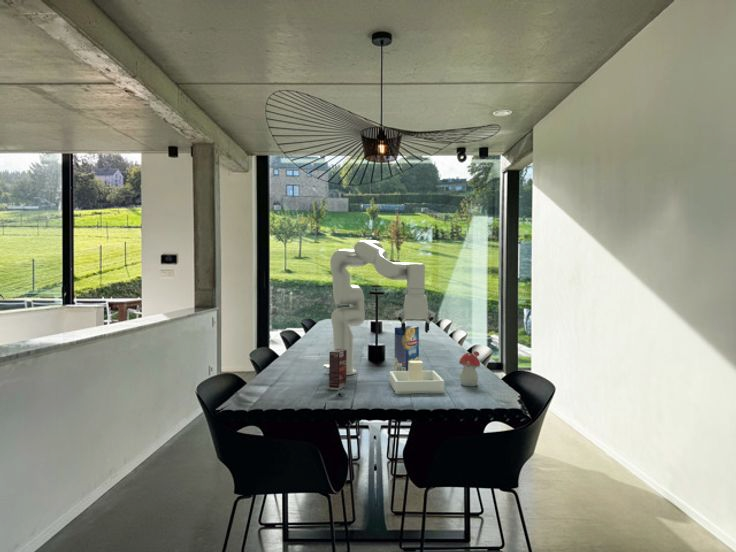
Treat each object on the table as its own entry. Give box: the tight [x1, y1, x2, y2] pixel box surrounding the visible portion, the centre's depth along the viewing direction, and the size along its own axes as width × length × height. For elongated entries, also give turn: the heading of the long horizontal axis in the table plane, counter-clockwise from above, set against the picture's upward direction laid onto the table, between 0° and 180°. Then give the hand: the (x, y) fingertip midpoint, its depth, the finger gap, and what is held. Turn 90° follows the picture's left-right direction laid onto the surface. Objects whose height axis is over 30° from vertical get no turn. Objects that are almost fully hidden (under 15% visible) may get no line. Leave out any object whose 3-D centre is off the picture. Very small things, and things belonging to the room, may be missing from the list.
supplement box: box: [328, 349, 347, 391], centre depth 230 cm, size 9×5×16 cm, turn 160°
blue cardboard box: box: [394, 325, 420, 371], centre depth 264 cm, size 7×11×22 cm, turn 142°
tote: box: [389, 370, 445, 395], centre depth 230 cm, size 20×22×5 cm
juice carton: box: [408, 360, 424, 381], centre depth 230 cm, size 6×6×10 cm
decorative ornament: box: [458, 350, 481, 387], centre depth 234 cm, size 9×7×15 cm
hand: (415, 332), depth 230 cm, fingers open, 9 cm apart
